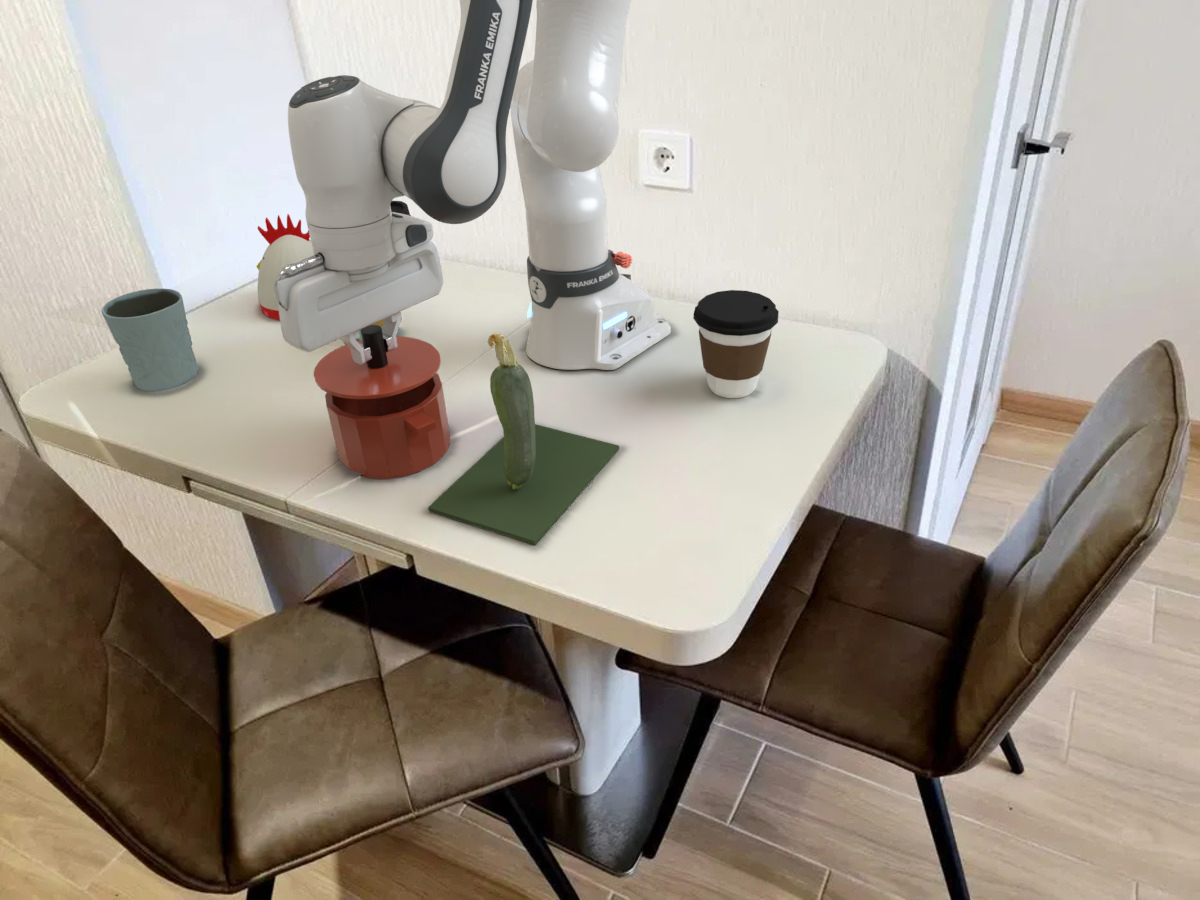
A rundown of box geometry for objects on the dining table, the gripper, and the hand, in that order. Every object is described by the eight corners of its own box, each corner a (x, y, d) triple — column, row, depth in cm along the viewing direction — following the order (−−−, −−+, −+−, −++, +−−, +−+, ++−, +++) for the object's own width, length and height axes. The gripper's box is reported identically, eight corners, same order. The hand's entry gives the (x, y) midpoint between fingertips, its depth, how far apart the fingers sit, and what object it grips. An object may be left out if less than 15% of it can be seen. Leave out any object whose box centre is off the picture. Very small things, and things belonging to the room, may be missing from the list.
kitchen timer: (265, 291, 152) (242, 206, 144) (346, 281, 154) (328, 197, 146) (257, 325, 141) (232, 235, 132) (345, 314, 143) (326, 224, 135)
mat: (521, 424, 113) (521, 420, 113) (619, 449, 107) (619, 445, 107) (428, 511, 98) (427, 507, 98) (535, 545, 93) (535, 541, 92)
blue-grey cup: (117, 396, 123) (86, 318, 116) (150, 362, 131) (123, 287, 124) (188, 395, 122) (161, 317, 116) (216, 361, 131) (193, 286, 124)
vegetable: (542, 477, 102) (528, 321, 91) (541, 500, 98) (526, 340, 87) (503, 479, 102) (485, 323, 91) (501, 502, 98) (482, 342, 87)
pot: (404, 399, 119) (394, 345, 115) (483, 456, 107) (475, 398, 102) (311, 437, 112) (296, 381, 107) (384, 503, 100) (371, 442, 95)
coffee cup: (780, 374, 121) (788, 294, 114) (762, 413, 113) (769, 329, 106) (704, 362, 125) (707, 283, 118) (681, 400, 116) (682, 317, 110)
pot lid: (402, 333, 112) (395, 292, 109) (465, 373, 103) (459, 329, 100) (294, 371, 104) (283, 328, 101) (352, 418, 95) (342, 373, 92)
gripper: (288, 278, 86) (317, 399, 94) (443, 220, 99) (458, 330, 107) (252, 264, 90) (283, 382, 97) (406, 209, 103) (423, 317, 110)
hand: (376, 355), depth 102 cm, fingers closed on pot lid, 2 cm apart
